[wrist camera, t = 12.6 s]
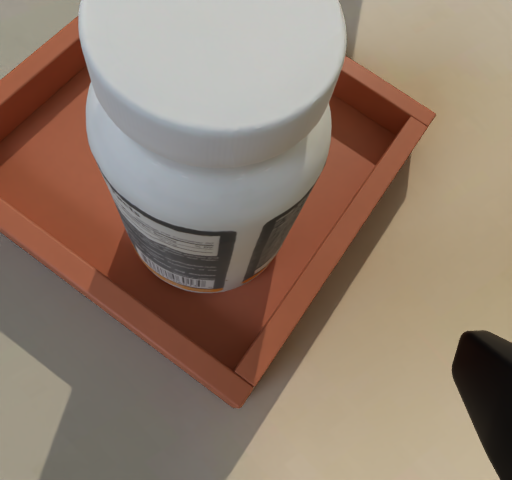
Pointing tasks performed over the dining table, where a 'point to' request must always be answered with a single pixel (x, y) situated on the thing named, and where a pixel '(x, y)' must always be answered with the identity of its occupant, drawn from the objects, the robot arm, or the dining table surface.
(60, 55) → the terracotta tray
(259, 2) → the pill bottle
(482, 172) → the dining table surface
